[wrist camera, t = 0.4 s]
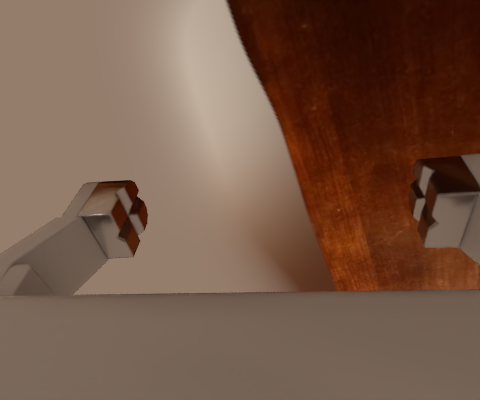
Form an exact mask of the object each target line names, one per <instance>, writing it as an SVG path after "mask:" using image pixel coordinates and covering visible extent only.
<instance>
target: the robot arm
mask: <svg viewBox="0 0 480 400" xmlns="http://www.w3.org/2000/svg"><path fill="white" fill-rule="evenodd" d="M413 173H414V176H415V178H416V180H415V181H414V182H413V183H412V184H411V185H410V191H409V205H410V210H411V213H412V216H413V218H415V219H416V220H418V221H419V225H418V232H419V234H420V237H421V239H422V242H423V244H424V247H425V248H437V247H460V249H461V250H462V251H463V252H464V253H465V254H467V255H468V256H469V257H470V258H471V259H473V260H474V261H475V262H476V263H478V264H479V265H480V154H479V153H478V154H468V155H458V156H453V157H440V158H428V159H417V160H416V162H415V164H414V169H413ZM138 191H139V190H138V188H137V186H136V184H135V182H133V181H131V180H125V181H106V182H91V183H86V184H84V185H83V186H82V187H81V188H80V190H79V191H78V193H77V195H76V196H75V197H74V199H73V200H72V202H71V203H70V205H69V206H68V208H67V209H66V211H65V212H64V213H63V215H62V217H61V218H55V219H54V220H52V221H50V222H49V223H47V224H46V225H44V226H43V227H41V228H40V229H38V230H36V231H35V232H33V233H32V234H30V235H29V236H27V237H26V238H24V239H22V240H21V241H19V242H18V243H16V244H15V245H13V246H12V247H10V248H8V249H7V250H5V251H4V252H2V253H1V254H0V400H480V289H469V290H403V291H329V292H328V291H324V292H323V291H322V292H321V291H320V292H247V293H246V292H244V293H178V294H175V293H173V294H106V295H105V294H103V295H102V294H100V295H73V294H74V293H75V292H76V291H77V290H78V289H79V288H80V287H81V286H82V285H83V284H84V283H85V282H86V281H87V280H88V279H89V278H90V277H91V276H92V275H93V274H94V273H95V272H96V271H97V270H98V269H100V268H101V267H102V265H104V263H106V262H107V261H108V259H111V258H128V257H134V255H135V252H136V250H137V247H138V245H139V242H140V240H139V237H138V235H139V234H140V233H142V232H143V231H144V230H145V227H146V224H147V217H148V214H147V209H146V206H145V203H144V201H142V200H141V199H140V198H138V197H137V194H138Z"/></svg>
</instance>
